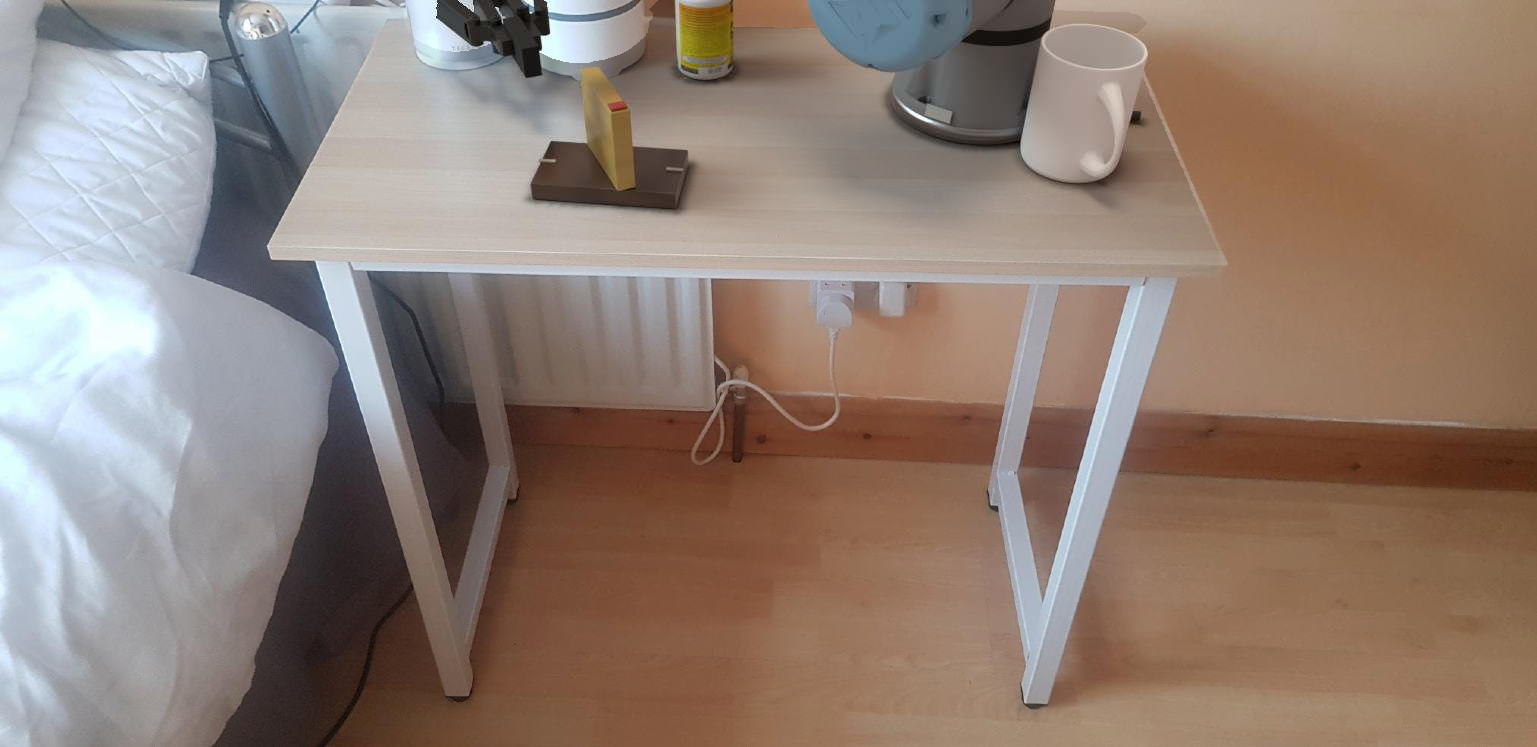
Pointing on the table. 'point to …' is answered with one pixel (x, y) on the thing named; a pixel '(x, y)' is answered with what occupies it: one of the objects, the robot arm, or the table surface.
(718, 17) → the supplement bottle
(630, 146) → the lock turn
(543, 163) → the panel
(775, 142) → the table surface
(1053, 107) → the mug
